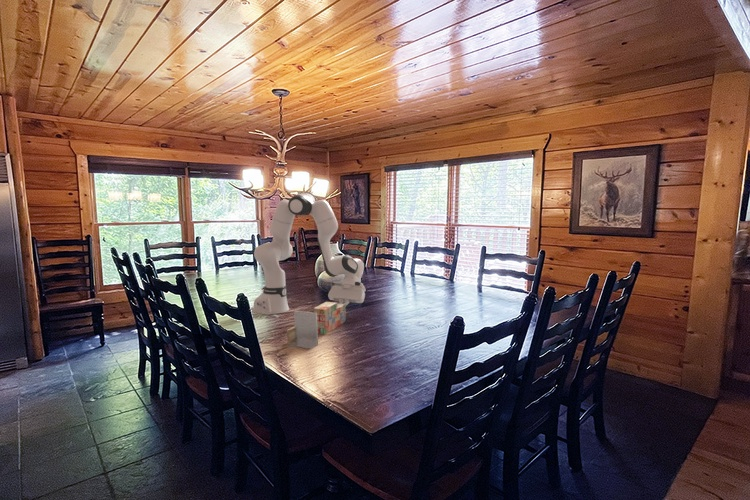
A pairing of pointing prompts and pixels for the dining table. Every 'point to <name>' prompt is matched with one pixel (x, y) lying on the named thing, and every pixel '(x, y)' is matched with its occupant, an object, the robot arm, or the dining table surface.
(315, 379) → the dining table surface
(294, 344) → the bookend
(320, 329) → the stack of blocks
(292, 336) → the back rail
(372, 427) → the dining table surface
